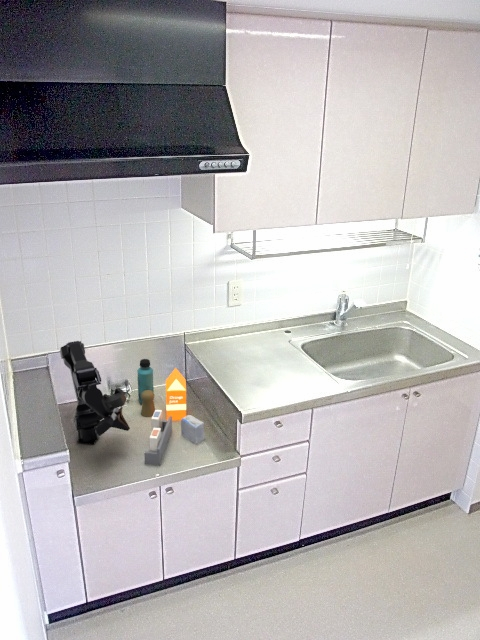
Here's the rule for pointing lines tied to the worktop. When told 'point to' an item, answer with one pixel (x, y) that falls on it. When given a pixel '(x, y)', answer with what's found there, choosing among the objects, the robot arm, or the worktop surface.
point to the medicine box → (192, 429)
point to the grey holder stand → (160, 444)
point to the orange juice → (176, 395)
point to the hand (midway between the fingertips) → (128, 429)
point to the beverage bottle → (144, 377)
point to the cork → (147, 403)
